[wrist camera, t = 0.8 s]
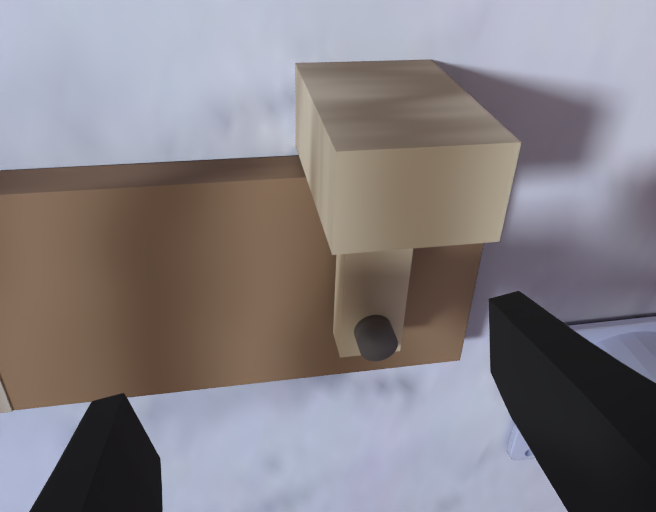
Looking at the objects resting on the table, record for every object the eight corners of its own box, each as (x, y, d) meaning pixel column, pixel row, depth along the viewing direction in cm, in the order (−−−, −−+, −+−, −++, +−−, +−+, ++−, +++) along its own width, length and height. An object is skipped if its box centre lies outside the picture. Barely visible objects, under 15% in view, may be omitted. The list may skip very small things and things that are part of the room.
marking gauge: (431, 59, 18) (521, 142, 13) (403, 291, 22) (460, 415, 18) (295, 63, 17) (335, 152, 12) (296, 301, 22) (325, 433, 17)
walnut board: (480, 146, 20) (500, 167, 18) (446, 333, 24) (460, 361, 23) (-222, 181, 16) (-257, 210, 15) (-110, 391, 21) (-130, 427, 19)
